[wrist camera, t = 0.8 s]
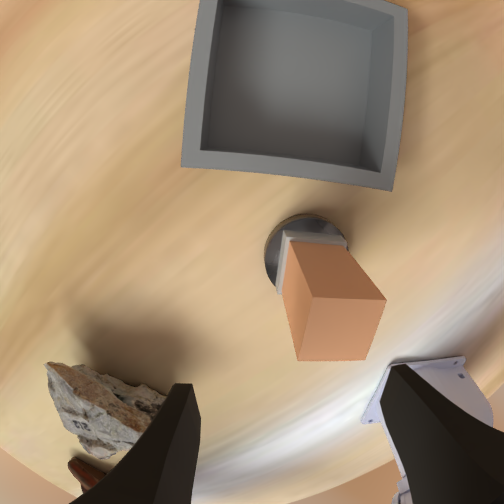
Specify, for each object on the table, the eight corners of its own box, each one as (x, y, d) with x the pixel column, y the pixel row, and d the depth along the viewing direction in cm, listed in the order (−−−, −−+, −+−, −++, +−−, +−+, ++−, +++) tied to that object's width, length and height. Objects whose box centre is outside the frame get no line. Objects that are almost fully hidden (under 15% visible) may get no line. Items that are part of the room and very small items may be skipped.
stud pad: (350, 218, 18) (356, 223, 17) (334, 291, 20) (339, 299, 19) (268, 209, 18) (270, 214, 17) (259, 287, 19) (260, 294, 19)
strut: (340, 235, 17) (392, 295, 11) (329, 287, 18) (367, 363, 12) (283, 229, 17) (308, 291, 11) (275, 284, 18) (291, 364, 12)
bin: (380, 26, 13) (407, 9, 10) (365, 179, 17) (392, 191, 14) (211, -2, 13) (205, -30, 9) (193, 160, 16) (180, 167, 13)
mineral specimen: (127, 367, 28) (161, 325, 23) (162, 437, 25) (209, 418, 20) (42, 386, 21) (43, 347, 16) (76, 468, 18) (90, 466, 13)
